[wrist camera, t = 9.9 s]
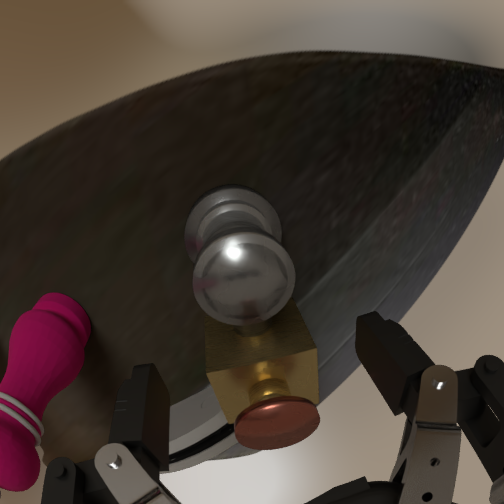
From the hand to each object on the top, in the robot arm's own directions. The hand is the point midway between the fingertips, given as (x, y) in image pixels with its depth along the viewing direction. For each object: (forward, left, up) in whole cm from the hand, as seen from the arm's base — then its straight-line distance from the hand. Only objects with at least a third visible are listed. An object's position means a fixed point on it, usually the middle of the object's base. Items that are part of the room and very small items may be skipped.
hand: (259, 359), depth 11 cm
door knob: (0, +1, -12) cm, 12 cm away
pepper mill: (-18, -5, -14) cm, 23 cm away
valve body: (0, -5, -14) cm, 15 cm away
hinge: (-9, -19, -14) cm, 26 cm away
